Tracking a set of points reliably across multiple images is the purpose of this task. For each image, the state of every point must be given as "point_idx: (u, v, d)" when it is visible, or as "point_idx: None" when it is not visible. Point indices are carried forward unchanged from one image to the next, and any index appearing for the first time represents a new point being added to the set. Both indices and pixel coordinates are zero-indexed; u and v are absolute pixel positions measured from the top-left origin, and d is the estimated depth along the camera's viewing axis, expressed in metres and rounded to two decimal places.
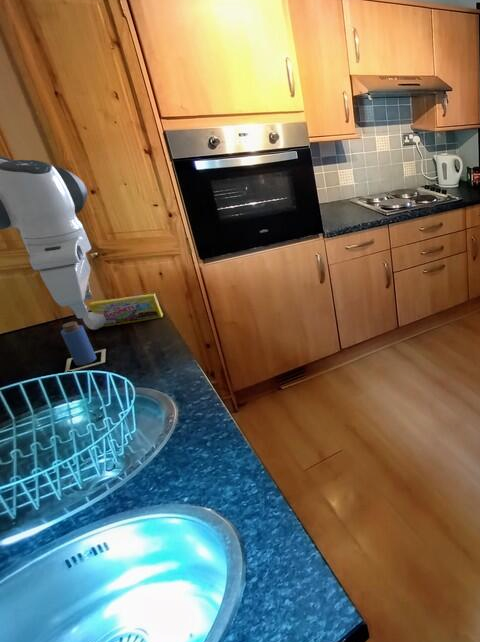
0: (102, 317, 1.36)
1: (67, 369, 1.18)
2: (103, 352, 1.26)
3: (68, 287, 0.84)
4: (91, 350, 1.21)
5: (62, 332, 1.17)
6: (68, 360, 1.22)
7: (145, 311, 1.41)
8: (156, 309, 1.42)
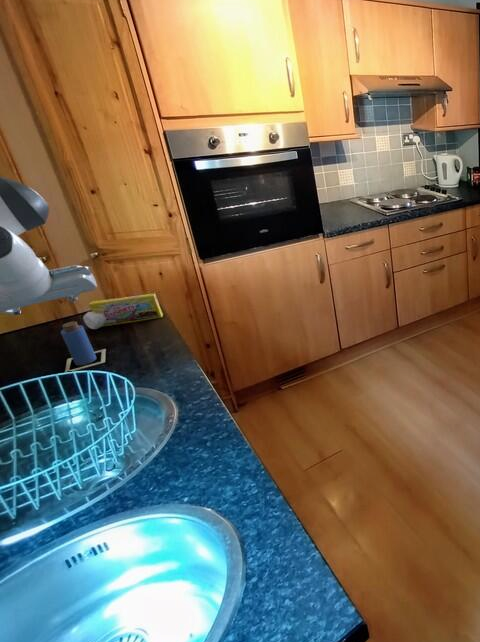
0: (102, 317, 1.37)
1: (67, 369, 1.18)
2: (103, 352, 1.26)
3: None
4: (91, 350, 1.21)
5: (62, 332, 1.17)
6: (68, 360, 1.22)
7: (145, 311, 1.41)
8: (156, 309, 1.42)
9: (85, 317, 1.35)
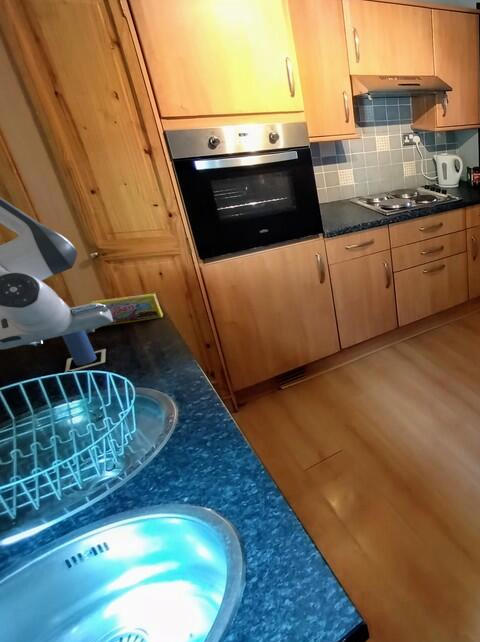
0: None
1: (67, 369, 1.18)
2: (103, 352, 1.26)
3: None
4: (91, 350, 1.21)
5: None
6: (68, 360, 1.22)
7: (145, 311, 1.41)
8: (156, 309, 1.42)
9: None
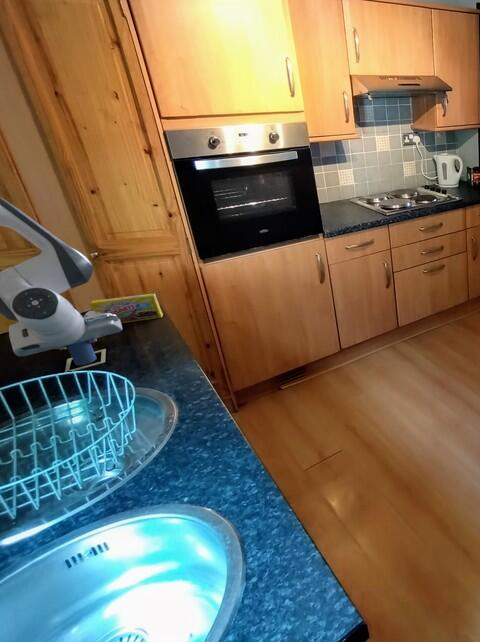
0: None
1: (67, 369, 1.18)
2: (103, 352, 1.26)
3: None
4: (91, 350, 1.21)
5: None
6: (68, 360, 1.22)
7: (145, 311, 1.41)
8: (156, 309, 1.42)
9: (86, 316, 1.36)
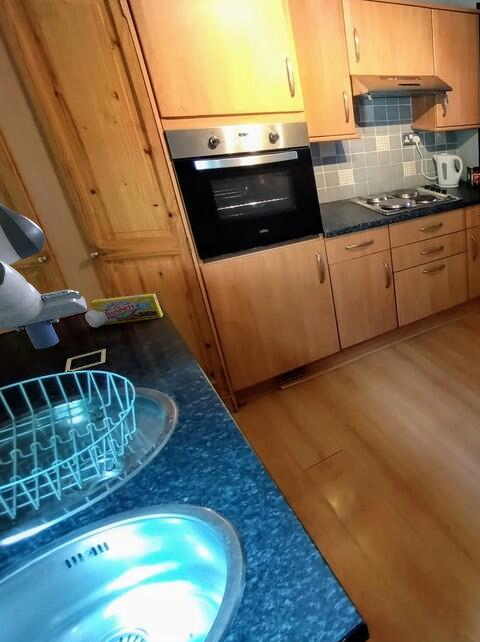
0: (103, 315, 1.37)
1: (67, 369, 1.18)
2: (103, 352, 1.26)
3: None
4: (52, 332, 1.09)
5: None
6: (68, 360, 1.22)
7: (145, 311, 1.41)
8: (156, 309, 1.42)
9: (86, 315, 1.36)
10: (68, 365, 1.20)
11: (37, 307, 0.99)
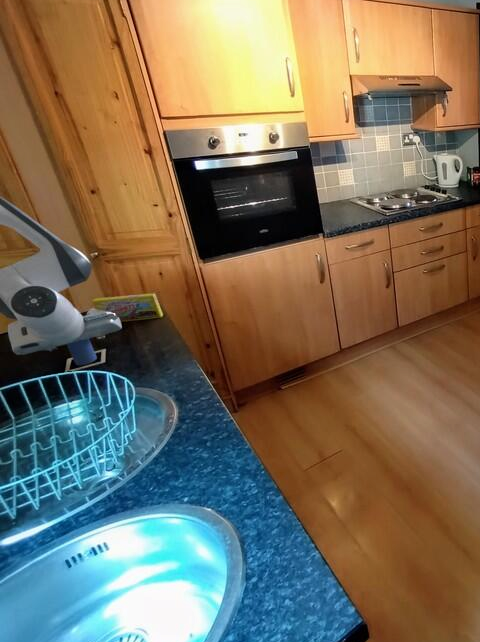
0: None
1: (67, 369, 1.18)
2: (103, 352, 1.26)
3: None
4: (91, 350, 1.22)
5: None
6: (68, 360, 1.22)
7: (145, 310, 1.42)
8: (155, 309, 1.42)
9: (88, 313, 1.37)
10: (68, 365, 1.20)
11: (80, 328, 1.10)
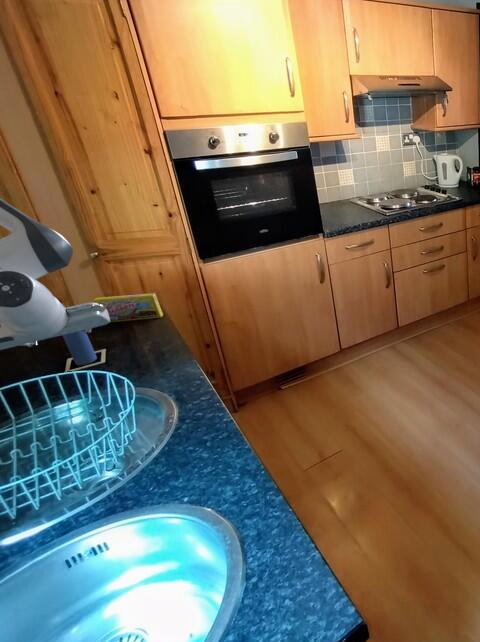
0: None
1: (67, 369, 1.18)
2: (103, 352, 1.26)
3: None
4: (91, 350, 1.22)
5: None
6: (68, 360, 1.22)
7: (145, 310, 1.42)
8: (155, 309, 1.42)
9: None
10: (68, 365, 1.20)
11: (62, 321, 0.98)
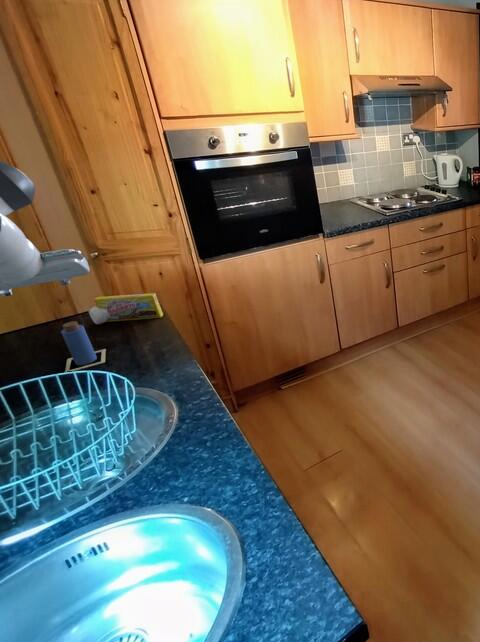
0: (105, 313, 1.39)
1: (67, 369, 1.18)
2: (103, 352, 1.26)
3: None
4: (91, 350, 1.22)
5: (62, 332, 1.17)
6: (68, 360, 1.22)
7: (145, 310, 1.42)
8: (155, 309, 1.42)
9: (90, 312, 1.38)
10: (68, 365, 1.20)
11: (36, 265, 0.92)
